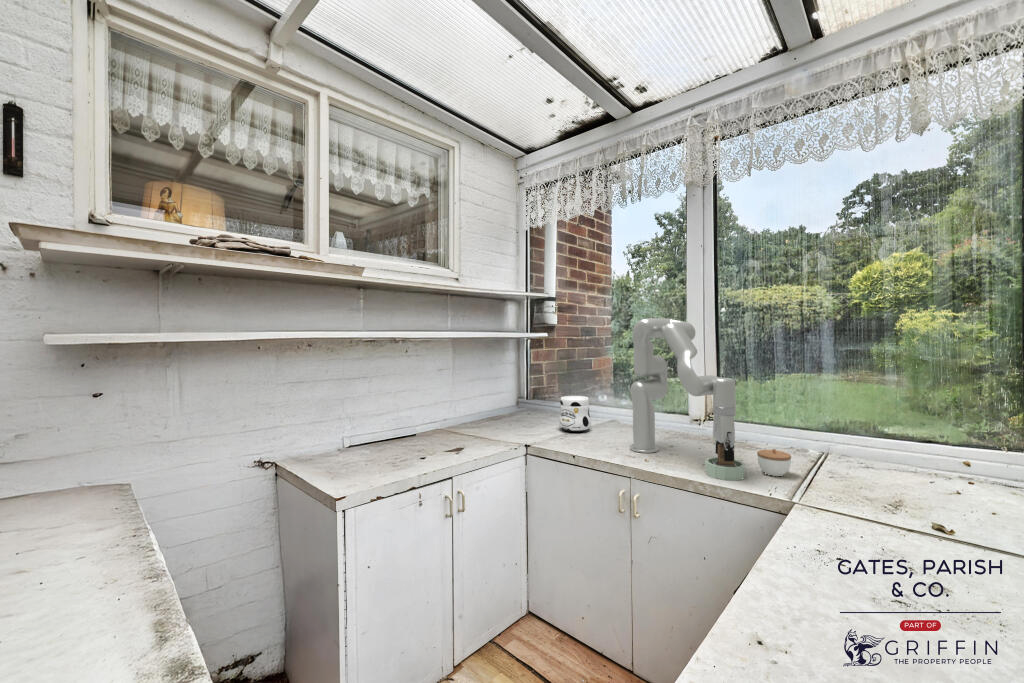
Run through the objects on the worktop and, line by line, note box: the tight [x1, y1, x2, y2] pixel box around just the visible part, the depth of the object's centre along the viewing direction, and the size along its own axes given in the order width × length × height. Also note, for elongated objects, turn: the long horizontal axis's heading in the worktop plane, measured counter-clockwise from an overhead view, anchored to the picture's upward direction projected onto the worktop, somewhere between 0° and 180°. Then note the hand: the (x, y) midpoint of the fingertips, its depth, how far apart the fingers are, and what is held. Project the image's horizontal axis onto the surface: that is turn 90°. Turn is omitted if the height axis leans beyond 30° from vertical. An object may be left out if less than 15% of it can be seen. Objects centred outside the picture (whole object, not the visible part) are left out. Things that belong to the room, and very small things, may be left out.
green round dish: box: [704, 456, 746, 481], centre depth 159 cm, size 13×13×4 cm
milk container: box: [558, 395, 592, 433], centre depth 234 cm, size 17×17×18 cm
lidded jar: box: [756, 448, 792, 477], centre depth 159 cm, size 11×11×9 cm
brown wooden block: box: [717, 444, 734, 465], centre depth 159 cm, size 2×5×10 cm, turn 82°
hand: (724, 457), depth 159 cm, fingers open, 8 cm apart
